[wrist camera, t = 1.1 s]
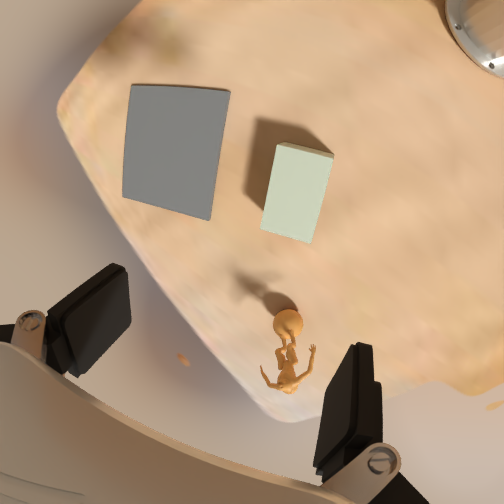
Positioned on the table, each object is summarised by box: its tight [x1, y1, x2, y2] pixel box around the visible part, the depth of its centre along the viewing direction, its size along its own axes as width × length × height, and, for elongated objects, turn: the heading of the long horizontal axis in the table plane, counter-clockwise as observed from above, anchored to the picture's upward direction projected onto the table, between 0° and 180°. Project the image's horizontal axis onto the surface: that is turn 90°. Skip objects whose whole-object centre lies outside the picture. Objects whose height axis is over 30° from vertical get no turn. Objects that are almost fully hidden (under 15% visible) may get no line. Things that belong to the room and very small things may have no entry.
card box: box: [260, 142, 334, 244], centre depth 30 cm, size 9×6×4 cm, turn 170°
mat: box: [122, 86, 231, 221], centre depth 34 cm, size 16×14×1 cm
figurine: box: [260, 309, 316, 394], centre depth 34 cm, size 8×6×12 cm
